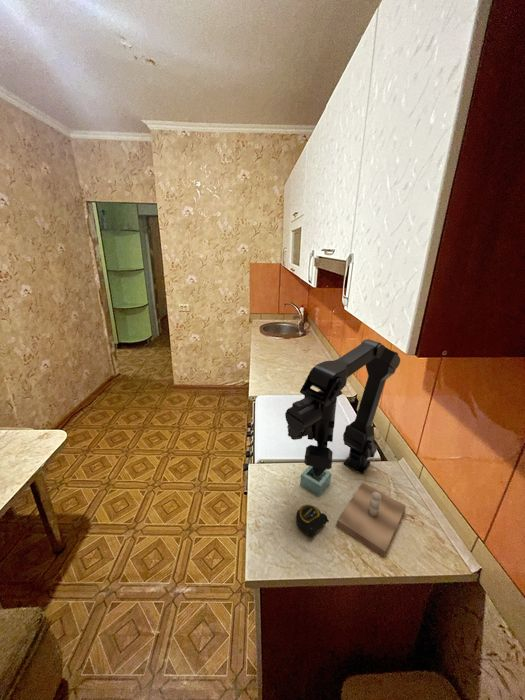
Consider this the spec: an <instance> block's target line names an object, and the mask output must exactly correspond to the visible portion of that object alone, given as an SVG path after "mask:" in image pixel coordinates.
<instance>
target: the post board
mask: <svg viewBox="0 0 525 700" xmlns="http://www.w3.org/2000/svg"><path fill="white" fill-rule="evenodd" d="M406 509H407V505H406V504H404V503H403V502H400V501H398V500H397V499H394V498H393V497H391V496H389V495H387V494H386V493H384V492H382V491H380V490H378V489H376V488H374V487H372V486H371V485H369V484H367V483H365V482H363V481H362V482H361V484H360V485H359V487H358V489H357V490H356V491H355V493H354V495H353V496H352V497H351V499H350V501H349V502H348V503H347V505H346V506H345V507H344V509H343V510H342V511H341V514H340V516H339V517H338V518H337V520H336V525H335V526H337V527H338V528H339V529H341V530H343V531H344V532H345V533H346V534H348V535H349V536H351V537H353V538H354V539H356V540H357V541H359V542H361V543H362V544H363V545H365V546H366V547H368V548H369V549H371V550H373V551H374V552H375V553H377V554H378V555H380V556H381V557H382V558H384V557H385V555H386V553H387V550H388V549H389V546H390V545H391V542H392V540H393V537H394V535H395V534H396V531H397V529H398V527H399V524H400V523H401V520H402V517H403V515H404V514H405V511H406Z"/></svg>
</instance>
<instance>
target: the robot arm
mask: <svg viewBox="0 0 525 700" xmlns="http://www.w3.org/2000/svg"><path fill="white" fill-rule="evenodd" d="M400 363H401V357H400V356H399V353H398V352H397V351H394V350H391V349H389V348H388V347H386V346H385V345H384V344H382V343H381V342H378V341H376V340H372V339H369V338H367V339H363V340H362V342H361V344H359V345H357V346H355V348H353V349H351V350H350V351H348V352H346V353H345V354H343V355H342V356H340V357H338V358H337V359H334V360H324V361H322V362H318V363H317V364H315V365H314V366H313V367H312V369H310V371H309V373H308V375H307V377H306V379H305V381H304V383H303V385H302V386H301V388H300V390H299V393H300V394H301V395H303V396H304V398H302V399H300V400H297V401H295V402H292V406H291V407H288V408H287V409H286V411H285V413H284V416H285V421H286V424H287V436H288V437H289V438H290V439H291V440H294V441H296V440H301V439H303V437H306V436H307V440H311V441H313V440H314V441H315V442H317V443H316V445H314V444H309V445H308V446H307V447H306V448H305V452H304V461H303V464H305V466H307V467H309V466H313V470H314V474H315V476H320V475H321V474H322V473H323V472H324V471H325V470H331V469H332V465H333V450H331V449H330V447H328V445H329V444H328V442H329V443H333V439H334V428H335V419H336V409H337V402H338V397H339V396H341V395H343V391H342V390H343V389H344V388H345V387H346V386H347V383H348V378H350V377H351V376H352V375H353V374H355V373H356V372H357V371H360V370H361V369H362V368H363V367H364V366H365V369H366V372H367V379H366V383H365V386H364V389H363V392H362V397H361V399H360V403H359V406H358V409H357V413H356V416H355V419H354V421H352V422H351V423H350V424H347V425H346V426H345V430H344V431H343V434H342V439H343V444H344V445H345V446H347V447H348V448H349V454H348V457H347V458H346V459H345V461H344V462H343V465H344V466H346V467H348V468H349V469H352V470H354V471H356V472H357V473H359V474H362V475H363V474H364V473H365V472H366V470H367V469H368V467H369V466H370V465H371V461H370V460H368V459H370V458H374V457H375V454H376V452H377V450H378V445H376V444H375V442H374V439H375V431H374V429H373V427H374V426H373V421H374V418H375V415H376V412H377V409H378V406H379V403H380V399H381V397H382V393H383V390H384V387H385V384H386V382H387V381H386V380H388V379H389V378H390V377H392V376H393V375H394V374H395V372H396V370H397V368H398V367H399V366H400ZM312 387H314V388H316V389H318V391H317V390H314V389H312Z"/></svg>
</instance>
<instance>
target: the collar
mask: <svg viewBox="0 0 525 700" xmlns="http://www.w3.org/2000/svg"><path fill="white" fill-rule="evenodd" d="M313 477H314V478H313ZM315 478H316V479H318V480H319V481H318V480H316V479H315ZM331 479H332V472H331V471H329V470H328V469H326V470H325V471H324V472H323V473H322V474H321V475H320V476H315V474H314V470H313V466H307V468H306V469H305V470H304V471H303V472H302V473H301V474H300V481H299V483H300V484H299V485H300V486H301V487H303V488H305V489H306V490H307V491H310V492H311V493H312V494H314V495H316V496H317V497H321V495H322V494H323V493H324V491H325V490H326V489H327V488H328V486H329V485H330V484H331Z"/></svg>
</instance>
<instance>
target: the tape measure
mask: <svg viewBox="0 0 525 700" xmlns="http://www.w3.org/2000/svg"><path fill="white" fill-rule="evenodd" d="M295 520H296V521H295V523H296V526H297V528H298V530H300V532H301V533H303V534H304V535H306V536H307V537H308V538H309V539H313V538H314V537H315V535H317V533H318V532H319V531H320V530H321V529H322V528H323V527H324V526H325V525H326V524H328V523H329V522H330V520H329V518H328V516H327V515H326V514H325V513H323V512H321V511H320V509H319V508H318V507H317V506H314V505H313V504H304V505H302V506H300V507H299V508H298V510H297V512H296V517H295Z"/></svg>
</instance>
